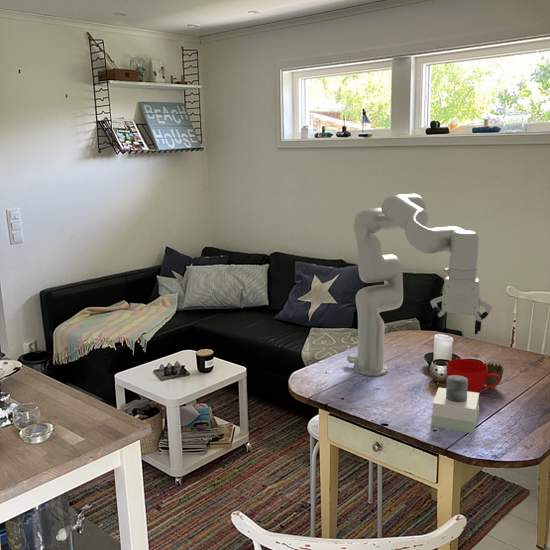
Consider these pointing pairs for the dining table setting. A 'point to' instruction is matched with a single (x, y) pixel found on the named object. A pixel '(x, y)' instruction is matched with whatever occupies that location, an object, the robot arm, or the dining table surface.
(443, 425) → the tower base block
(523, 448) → the dining table surface
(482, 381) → the ceramic cup
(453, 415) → the tower top block
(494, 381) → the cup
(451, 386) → the slate drum
